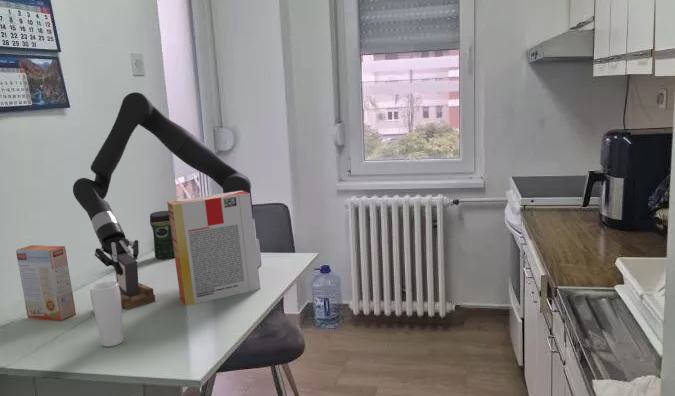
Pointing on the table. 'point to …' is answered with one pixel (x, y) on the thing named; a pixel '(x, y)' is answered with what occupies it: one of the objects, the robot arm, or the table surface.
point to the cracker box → (46, 282)
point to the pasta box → (214, 246)
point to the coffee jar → (162, 234)
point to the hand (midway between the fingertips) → (128, 271)
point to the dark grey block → (128, 275)
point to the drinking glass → (108, 312)
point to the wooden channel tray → (138, 297)
